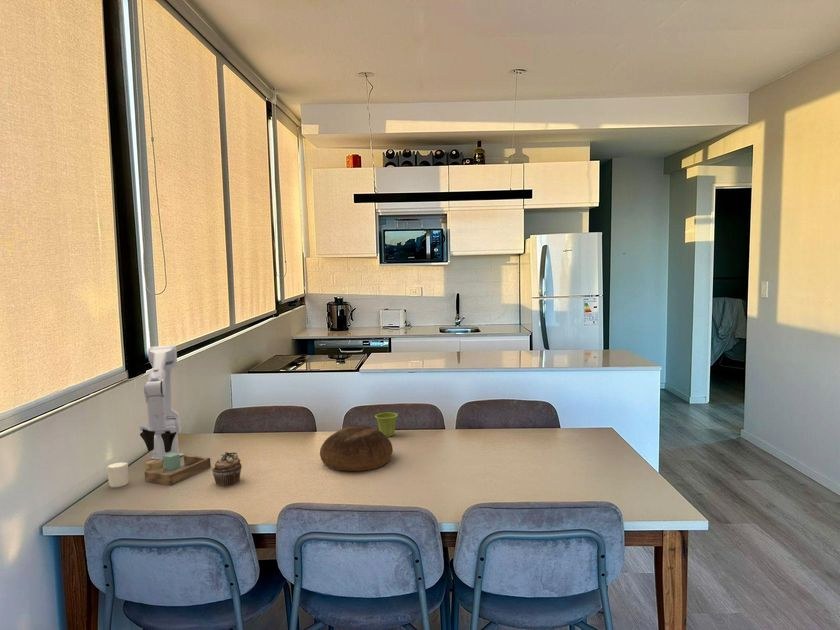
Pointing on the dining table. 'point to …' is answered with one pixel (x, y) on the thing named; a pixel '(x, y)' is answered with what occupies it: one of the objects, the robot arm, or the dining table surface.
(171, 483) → the corral
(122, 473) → the white cylinder
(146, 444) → the robot arm
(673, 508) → the dining table surface
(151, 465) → the oak block
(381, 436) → the bread
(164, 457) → the teal block
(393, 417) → the plant pot
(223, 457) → the cupcake
